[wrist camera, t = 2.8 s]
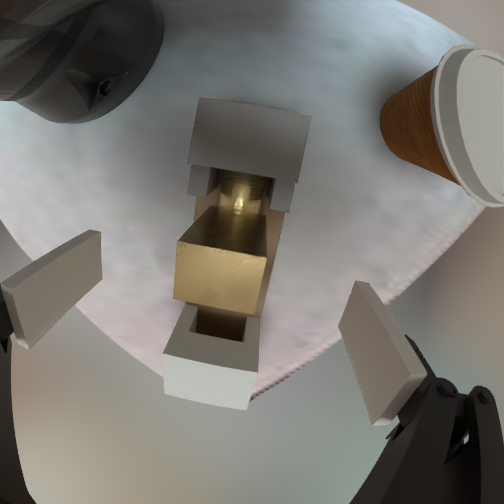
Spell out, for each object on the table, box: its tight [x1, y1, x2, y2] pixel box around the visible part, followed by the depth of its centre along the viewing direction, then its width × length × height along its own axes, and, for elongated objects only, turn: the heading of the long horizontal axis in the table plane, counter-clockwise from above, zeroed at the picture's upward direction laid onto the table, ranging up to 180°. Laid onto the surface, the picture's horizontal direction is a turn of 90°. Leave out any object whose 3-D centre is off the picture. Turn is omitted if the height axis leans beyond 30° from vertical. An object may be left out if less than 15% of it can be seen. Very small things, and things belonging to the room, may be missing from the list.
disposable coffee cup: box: [380, 45, 504, 207], centre depth 13 cm, size 10×10×12 cm
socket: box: [163, 304, 260, 410], centre depth 22 cm, size 5×7×7 cm
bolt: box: [173, 169, 267, 315], centre depth 17 cm, size 13×4×10 cm, turn 170°
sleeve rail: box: [186, 98, 311, 342], centre depth 21 cm, size 22×7×6 cm, turn 170°
